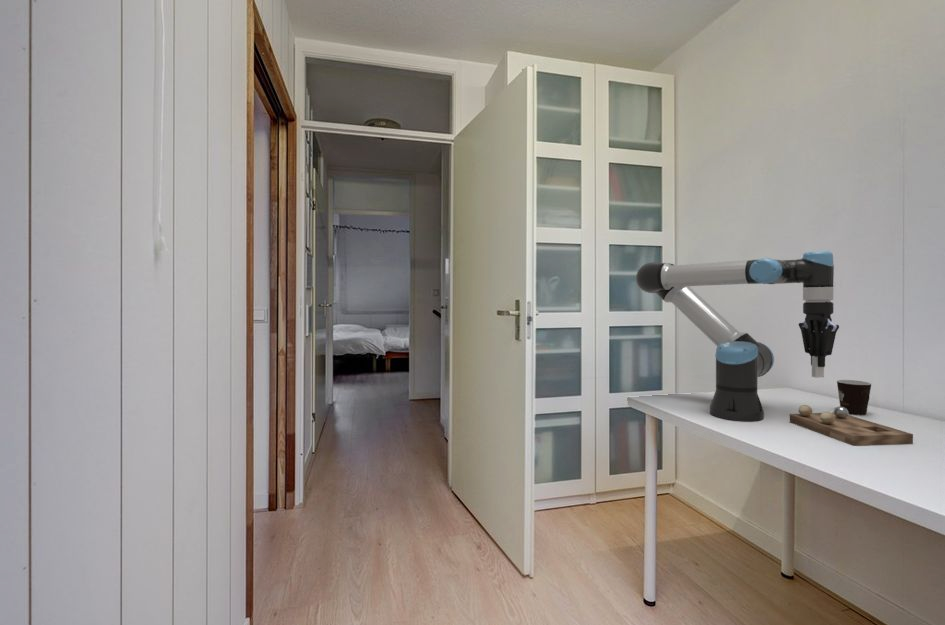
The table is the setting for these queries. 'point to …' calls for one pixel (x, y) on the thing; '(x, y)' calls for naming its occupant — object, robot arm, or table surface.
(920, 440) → the table surface
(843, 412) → the steel ball
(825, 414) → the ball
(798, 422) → the walnut plate
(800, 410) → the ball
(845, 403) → the coffee mug
